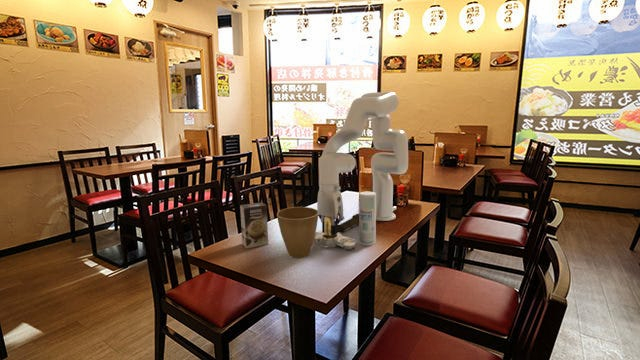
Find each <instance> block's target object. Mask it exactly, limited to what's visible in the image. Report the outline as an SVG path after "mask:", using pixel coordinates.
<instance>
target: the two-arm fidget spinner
mask: <svg viewBox="0 0 640 360" xmlns="http://www.w3.org/2000/svg"><path fill="white" fill-rule="evenodd" d="M317 242H318V246H321V247H323V248H336V246H337V247H341V250H343V251H353V250H354V249H355V247H356V244H357V240H356V239H354V238H351V237H349V236H344V235H342V233H337V234H335V238H325V237H324V233H323V232H319V231H316V233H315V237H314V241H313V243H317ZM326 246H327V247H326Z"/></svg>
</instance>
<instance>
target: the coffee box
mask: <svg viewBox="0 0 640 360" xmlns="http://www.w3.org/2000/svg"><path fill="white" fill-rule="evenodd" d="M239 206H240V207H239V209H240V222H241V223H240V226H241V243H242V246H244V247H245V249H251V248H256V247H261V246H262V247H263V246H266V245H269V233H268V229H269V228H268V210H267V208H268V207H267V205H266V204H265V203H264V202H254V203H253V202H252V203H247V204H240V205H239Z"/></svg>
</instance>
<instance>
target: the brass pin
mask: <svg viewBox="0 0 640 360" xmlns="http://www.w3.org/2000/svg"><path fill="white" fill-rule="evenodd" d="M331 225H332V219H331V218H330V217H326V216H324V237H325V238H335V235H331Z"/></svg>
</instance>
